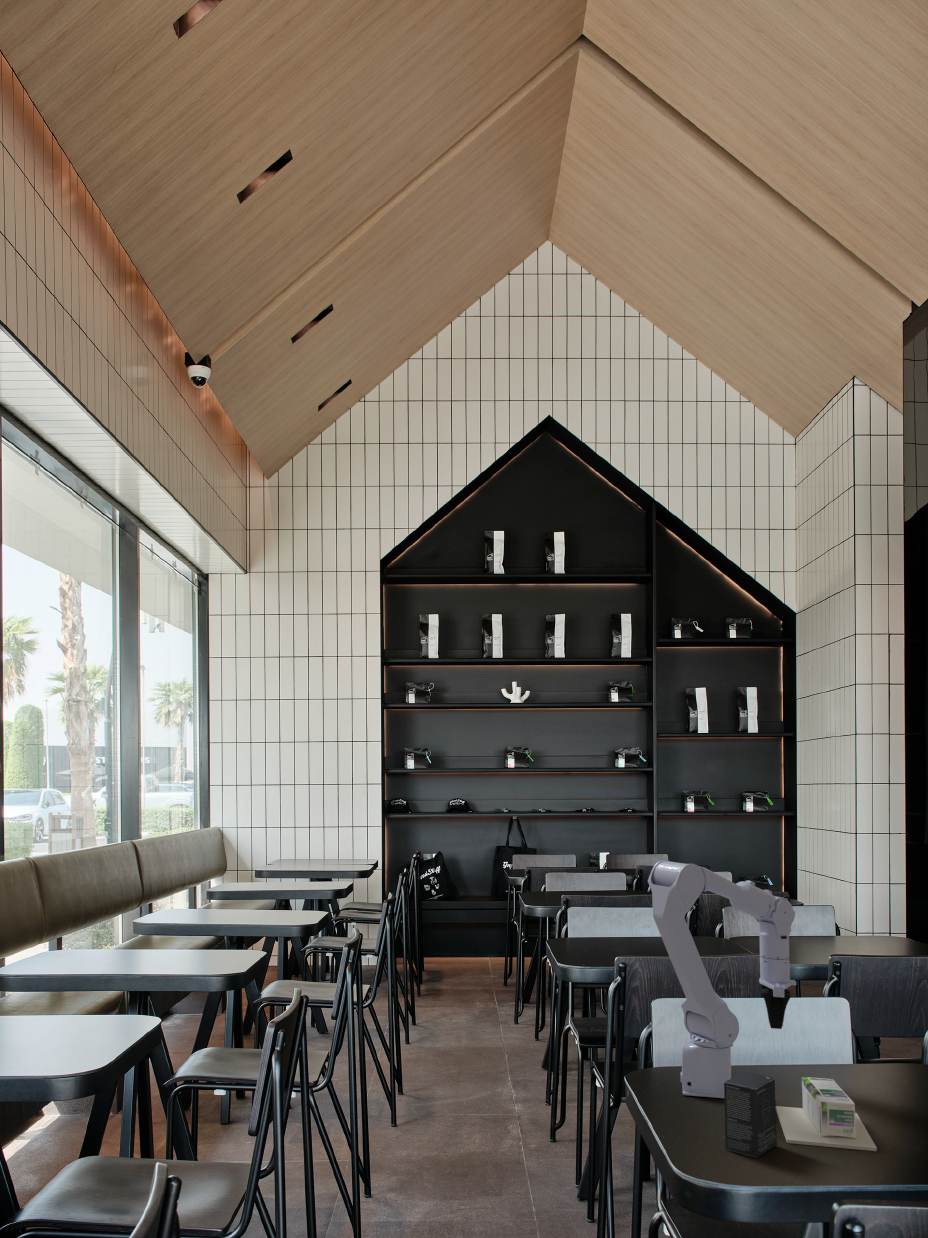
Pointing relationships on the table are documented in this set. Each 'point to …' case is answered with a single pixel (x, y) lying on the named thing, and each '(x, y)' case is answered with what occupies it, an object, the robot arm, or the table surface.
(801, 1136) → the mat
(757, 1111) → the box
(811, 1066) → the table surface
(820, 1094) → the syrup box
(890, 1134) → the table surface
